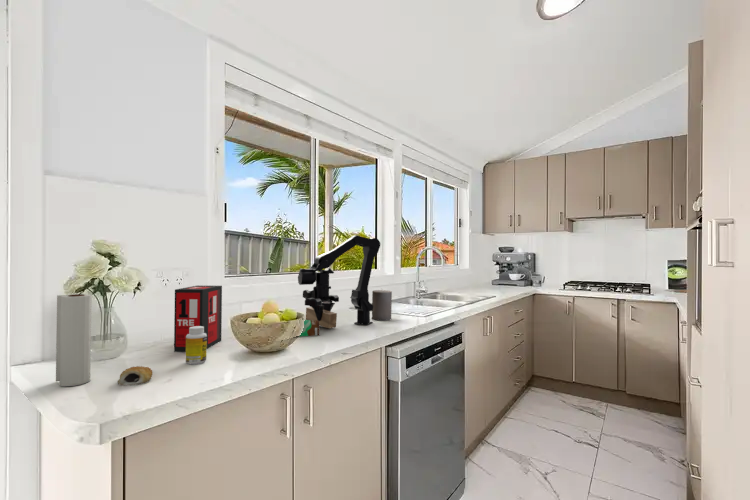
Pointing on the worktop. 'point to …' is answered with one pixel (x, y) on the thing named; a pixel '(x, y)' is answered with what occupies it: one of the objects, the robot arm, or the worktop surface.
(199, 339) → the supplement bottle
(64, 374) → the grey tall cylinder
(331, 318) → the block
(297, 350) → the worktop surface
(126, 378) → the pastry
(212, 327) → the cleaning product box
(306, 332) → the food container
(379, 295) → the pillar candle
